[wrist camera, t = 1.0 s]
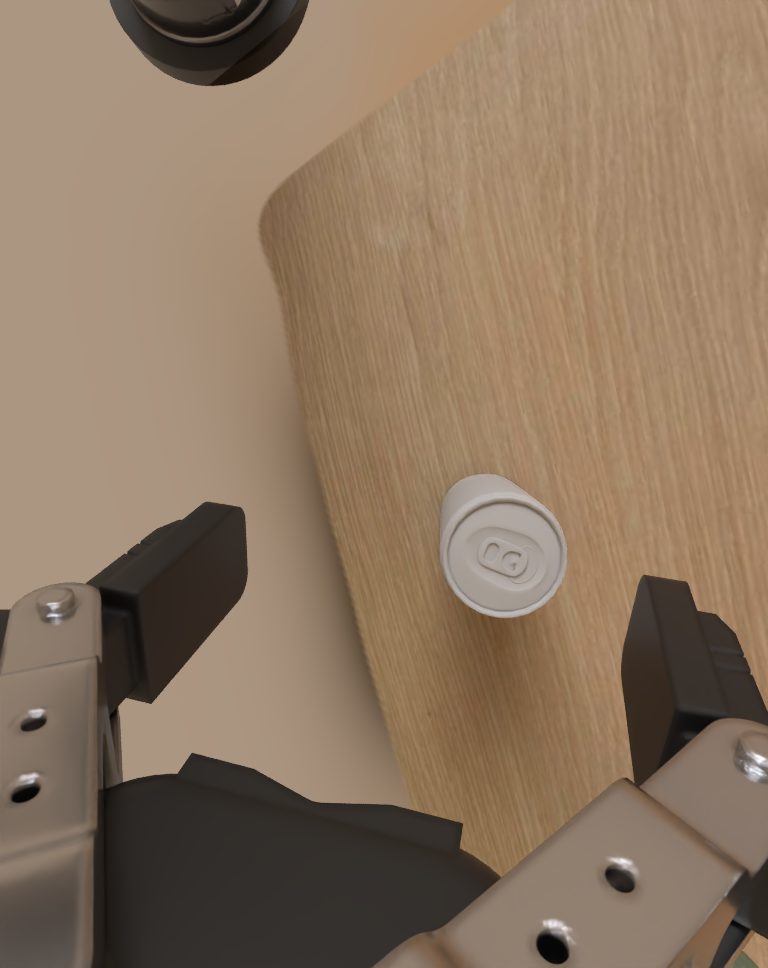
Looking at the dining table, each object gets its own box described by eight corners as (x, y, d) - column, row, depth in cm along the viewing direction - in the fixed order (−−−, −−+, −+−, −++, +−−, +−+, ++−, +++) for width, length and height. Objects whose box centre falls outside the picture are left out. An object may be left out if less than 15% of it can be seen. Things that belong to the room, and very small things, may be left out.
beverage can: (507, 570, 35) (540, 642, 23) (426, 538, 36) (419, 592, 24) (540, 491, 35) (592, 522, 23) (459, 458, 35) (468, 473, 23)
